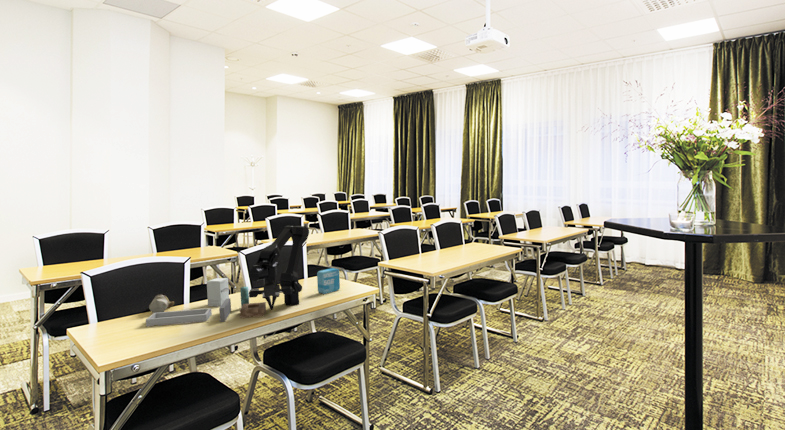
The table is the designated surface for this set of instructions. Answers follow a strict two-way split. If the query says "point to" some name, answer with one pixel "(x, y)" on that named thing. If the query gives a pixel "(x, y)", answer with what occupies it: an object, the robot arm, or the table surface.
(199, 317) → the rectangular open frame
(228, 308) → the backstop wall
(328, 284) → the data package
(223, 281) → the supplement box
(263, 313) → the pocket block
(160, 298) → the ceramic sculpture
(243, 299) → the dowel
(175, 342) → the table surface
